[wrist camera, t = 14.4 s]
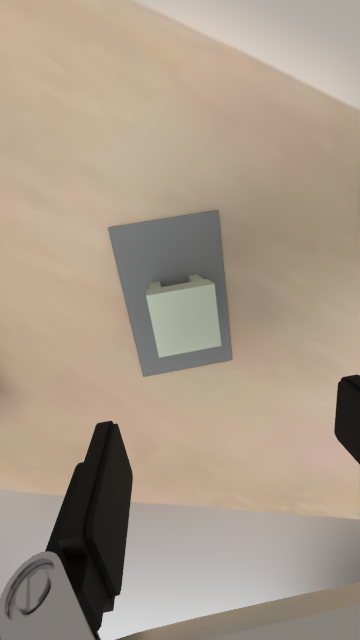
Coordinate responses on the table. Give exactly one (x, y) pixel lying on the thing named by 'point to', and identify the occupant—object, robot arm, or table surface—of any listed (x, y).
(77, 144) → the table surface
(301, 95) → the table surface
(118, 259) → the mat
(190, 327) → the pale green stool
